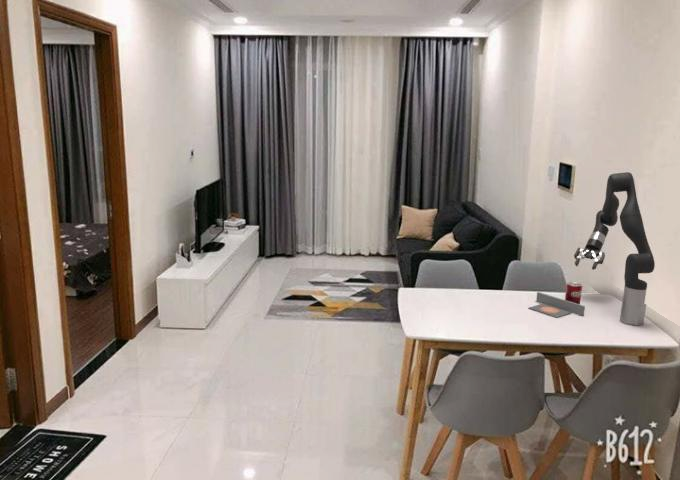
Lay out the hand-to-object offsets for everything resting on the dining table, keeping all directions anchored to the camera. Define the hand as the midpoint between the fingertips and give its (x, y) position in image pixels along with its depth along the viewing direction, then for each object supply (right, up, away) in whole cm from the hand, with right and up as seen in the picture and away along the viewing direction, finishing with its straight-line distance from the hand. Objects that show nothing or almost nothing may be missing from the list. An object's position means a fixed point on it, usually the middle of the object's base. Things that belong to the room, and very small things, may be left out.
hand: (584, 267), depth 287 cm
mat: (-23, -21, -12) cm, 33 cm away
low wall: (-16, -20, -7) cm, 27 cm away
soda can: (-8, -20, -4) cm, 22 cm away
